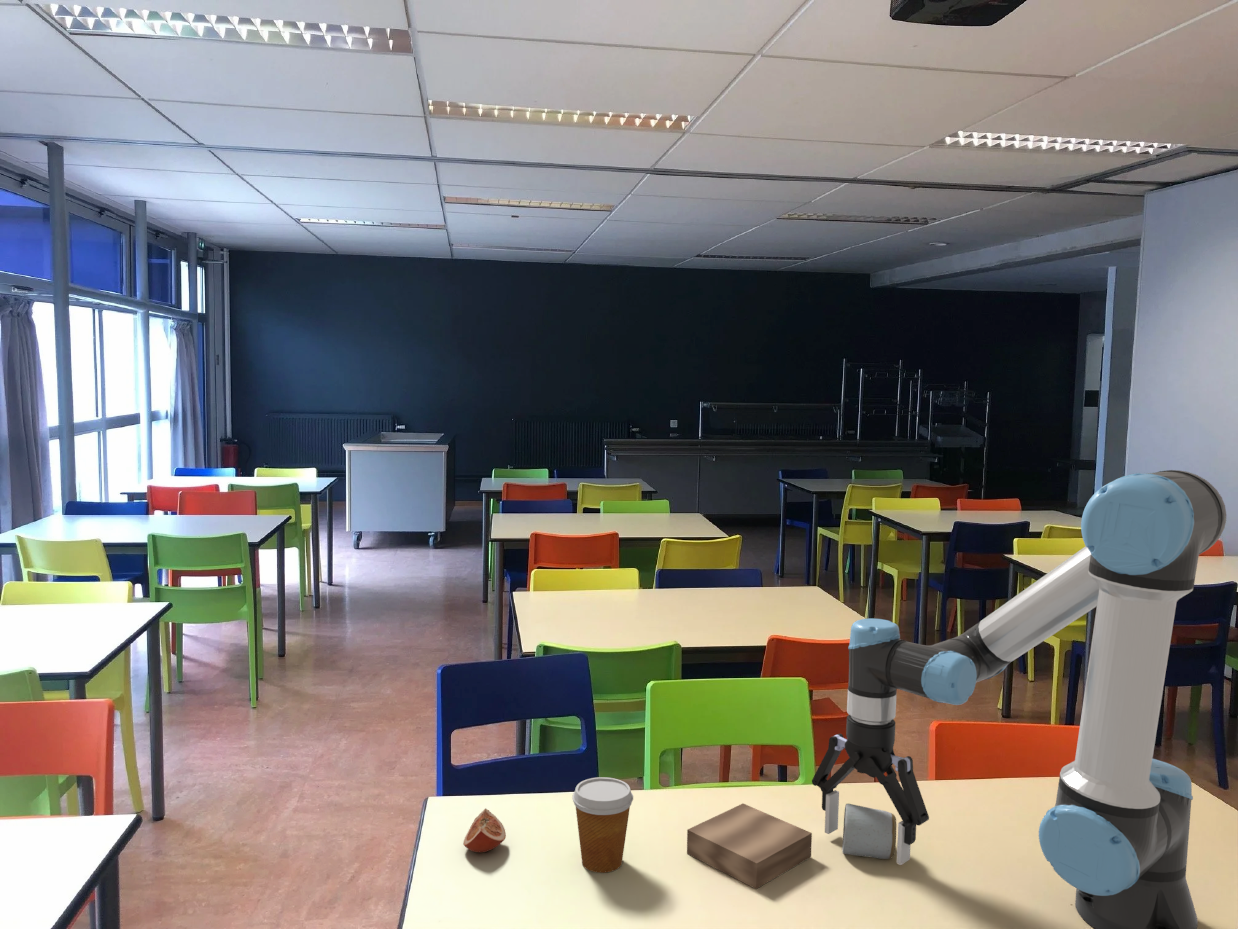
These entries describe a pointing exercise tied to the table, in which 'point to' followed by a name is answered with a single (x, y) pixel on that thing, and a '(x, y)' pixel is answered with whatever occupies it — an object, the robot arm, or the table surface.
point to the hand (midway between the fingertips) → (866, 845)
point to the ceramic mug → (869, 832)
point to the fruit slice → (485, 833)
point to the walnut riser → (749, 845)
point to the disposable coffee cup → (602, 821)
